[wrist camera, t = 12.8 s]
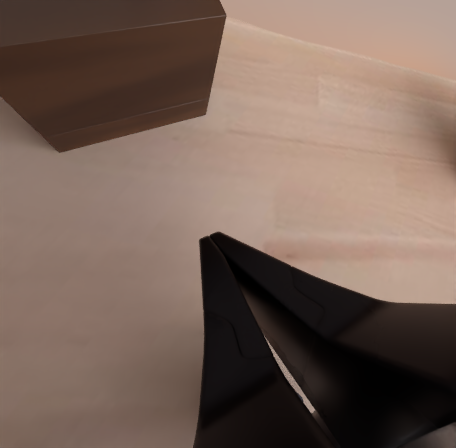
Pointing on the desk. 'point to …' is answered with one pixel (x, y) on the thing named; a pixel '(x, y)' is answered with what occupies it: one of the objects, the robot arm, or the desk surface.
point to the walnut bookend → (107, 64)
